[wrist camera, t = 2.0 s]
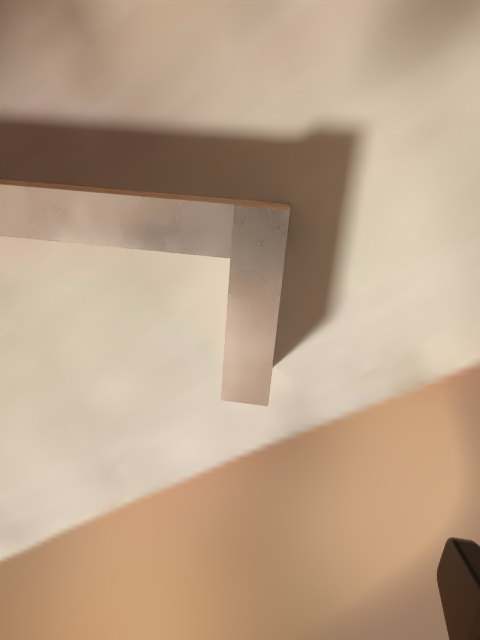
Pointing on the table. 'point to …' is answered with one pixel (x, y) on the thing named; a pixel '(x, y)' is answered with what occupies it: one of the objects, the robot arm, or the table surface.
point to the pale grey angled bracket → (177, 237)
